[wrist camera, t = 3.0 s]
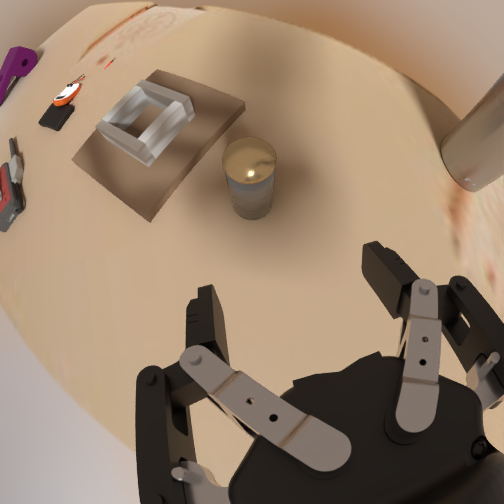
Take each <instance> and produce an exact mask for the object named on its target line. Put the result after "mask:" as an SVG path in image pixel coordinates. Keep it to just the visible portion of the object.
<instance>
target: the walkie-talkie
mask: <svg viewBox="0 0 504 504" xmlns="http://www.w3.org/2000/svg"><path fill="white" fill-rule="evenodd" d="M9 144H10V151H11V160H10V161H9V163H7V162H6V163H4V164H3V165H2V166H1V167H0V231H2V232H6V231H7V230H8V229H9V227H10V226H11V224H12V223H13V221H14V220H15V219H16V217H17V216H18V214H20V213H21V212H22V210H23V201H22V199H21V198H22V197H21V195H20V194H21V193H20V191H19V190H20V189H19V185H20V184H21V181H22V177H23V173H24V171H23V167H22V163H21V162H22V160H21V158H20V157H19V156H17V155H16V152H15V146H14V142H13V138H10V139H9Z"/></svg>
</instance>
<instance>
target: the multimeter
mask: <svg viewBox="0 0 504 504" xmlns="http://www.w3.org/2000/svg"><path fill="white" fill-rule="evenodd" d="M115 58H116V57H115ZM115 58H114V59H115ZM114 59H113V60H114ZM113 60H112V61H111V62H110V63H109V64H108V65H107V66H106V67H108V66H109V65H110V64H111V63H112V62H113ZM83 75H84V74H83ZM83 75H82V76H83ZM80 77H81V76H80ZM80 77H79V78H80ZM84 77H85V76H84ZM84 77H83V78H84ZM79 78H78V79H79ZM83 78H82V79H83ZM78 79H77V80H78ZM80 80H81V79H80ZM75 81H76V80H75ZM75 81H73V82H74V83H75ZM78 81H79V80H78ZM73 82H72V83H73ZM76 82H77V81H76ZM72 83H71V84H68V85H67V87H66V89H65V90H64V91H63V92H62V93H61V94H59V95H58V96H57V97H56V98H55V99H54V100H53V103H52V104H51V105H50V107H49V108H48V109H47V111H46V112H45V113H44V115H43V116H42V118H41V119H40V121H39V124H40V125H41V126H43V127H48V128H51V129H53V130H56V131H60V129H61V128H62V126H63V125H64V124H65V122H66V121H67V119H68V118H69V117H70V115H71V114H72V113H73V112H74V110H75V109H74V108H73V107H72V106H71V105H65V104H67V103H68V102H69V101H70V100H71V99H72V98H74V97H75V96H76V95H77V93H78V92H79V90H80V88H81V86H80V84H79V83H75V84H74V83H73V84H72Z"/></svg>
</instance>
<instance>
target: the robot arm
mask: <svg viewBox="0 0 504 504" xmlns="http://www.w3.org/2000/svg"><path fill="white" fill-rule="evenodd" d="M441 153H442V157H443V161H444V163H445V165H446V167H447V169H448V171H449V173H450V174H451V175H452V177H453V178H454V179H455V181H456V182H457V183H458V184H459V185H461V186H462V187H463V188H465V189H466V190H468V191H472V192H476V191H479V190H480V189H482V188H484V187H485V186H487V185H488V184H490V183H491V182H493V181H495V180H496V179H498V178H499V177H501V176H502V175H504V73H503V74H502V76H501V77H500V78H499V79H498V80H497V82H496V83H495V84H494V85H493V87H492V88H491V89H490V90H489V91H488V92H487V93H486V94H485V96H484V97H483V98H482V99H481V100H480V101H479V102H478V103H477V105H476V106H475V107H474V108H473V109H472V110H471V111H470V112H469V113H468V114H467V115H466V117H465V118H464V119H463V120H462V121H461V122H460V123H459V124H458V125H457V126H456V127H455V128H454V129H453V130H452V131H451V132H450V133H449V134H448V135H447V136H446V137H445V139H444V140H443V141H442V144H441ZM362 273H363V276H364V278H365V279H366V280H367V282H368V283H369V285H370V286H371V287H372V289H373V290H374V292H375V293H376V294H377V296H378V297H379V299H380V300H381V302H382V303H383V304H384V306H385V307H386V309H387V310H388V312H389V313H390V315H391V316H392V318H393V319H396V318H398V317H402V319H403V321H402V325H401V332H400V338H399V344H398V350H397V354H396V357H394V356H383V357H382V355H381V354H380V352H379V351H378V352H376V353H373V354H371V355H368V356H365V357H363V358H360V359H358V360H357V361H356V362H354V363H353V364H351V365H350V366H348V367H346V368H345V369H343V370H342V371H339V372H332V373H322V374H314V375H311V376H307V377H304V378H300V379H297V380H293V386H294V387H292V388H290V389H289V390H287V391H286V392H284V393H283V394H282V395H281V396H280V397H278V396H277V395H275V394H274V393H272V392H271V391H269V390H268V389H266V388H265V387H263V386H262V385H261V384H259V383H258V382H256V381H255V380H253V379H252V378H251V377H249V376H248V375H247V374H245V373H244V372H242V371H235V370H234V369H232V368H231V367H230V363H229V355H228V347H227V339H226V331H225V322H224V315H223V310H222V307H221V304H220V302H219V299H218V296H217V294H216V291H215V289H214V286H213V285H212V284H211V285H207V286H203V287H199V288H198V298H196V299H192V300H190V302H189V304H188V306H187V308H186V317H187V318H186V349H185V351H184V352H183V353H182V354H181V356H180V360H179V361H178V362H176V363H174V364H173V365H170V366H168V367H166V368H164V369H161V368H160V367H158V366H148V367H146V368H144V369H143V370H141V372H140V373H139V374H138V376H137V380H136V414H135V427H136V460H137V475H138V487H139V497H140V503H141V504H504V454H503V453H501V452H500V451H498V450H497V449H496V448H495V447H494V446H492V445H491V444H490V442H489V441H488V440H487V438H486V436H485V433H484V427H483V412H484V411H486V410H487V409H493V408H495V407H497V406H498V405H499V404H500V403H501V402H502V401H503V400H504V324H503V322H502V321H501V319H500V318H499V317H498V315H497V314H496V313H495V311H494V310H493V309H492V308H491V306H490V305H489V304H488V303H487V301H486V300H485V299H484V298H483V296H482V295H481V294H480V293H479V292H478V290H477V289H476V288H475V287H474V286H473V284H472V283H471V282H470V281H469V280H468V279H467V278H465V277H463V276H453V277H452V278H451V279H450V281H449V284H448V285H439V286H436V285H435V284H434V283H433V282H432V281H430V280H427V279H420V278H419V277H418V276H417V275H416V274H415V272H414V271H413V270H412V269H411V268H410V267H409V266H408V265H407V264H406V263H405V262H404V261H403V259H402V258H400V256H399V255H398V254H397V253H396V252H395V251H393V250H391V249H389V248H387V247H386V248H384V247H383V246H382V245H381V244H380V243H379V242H378V241H374V242H370V243H367V244H364V245H363V252H362ZM461 314H463V315H464V317H465V318H466V319H467V321H468V322H469V325H470V328H469V327H468V325H467V324H466V322H465V321H464V320H463V318H462V317H461ZM441 331H442V333H443V334H444V336H445V337H446V339H447V341H448V342H449V344H450V345H451V347H452V349H453V350H454V352H455V354H456V355H457V357H458V359H459V361H460V362H461V364H462V366H463V368H464V369H465V371H466V373H467V376H466V382H467V385H466V386H464V385H462V384H460V383H457V382H455V381H453V380H450V379H448V378H446V377H443V376H441V375H439V365H440V351H441ZM204 398H207V399H208V400H209V401H210V402H211V403H212V404H213V405H215V406H216V407H217V408H218V409H219V410H220V411H221V412H223V413H224V414H225V415H226V416H227V417H228V418H229V419H231V420H232V421H233V422H234V423H235V424H236V425H237V426H238V427H239V428H240V429H241V430H243V431H244V432H245V433H246V434H248V435H249V436H250V437H251V438H253V439H254V441H253V443H252V445H251V446H250V448H249V450H248V452H247V453H246V455H245V457H244V459H243V460H242V462H241V464H240V465H239V467H238V468H237V470H236V472H235V473H234V475H233V477H232V478H231V480H230V483H229V487H222V486H220V485H219V484H218V483H217V482H216V480H215V478H214V475H213V473H212V472H211V471H210V470H209V469H208V468H206V467H204V466H201V465H199V464H197V460H196V454H195V447H194V440H193V433H192V425H191V417H190V408H189V405H191V404H193V403H195V402H198V401H200V400H202V399H204Z"/></svg>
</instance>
